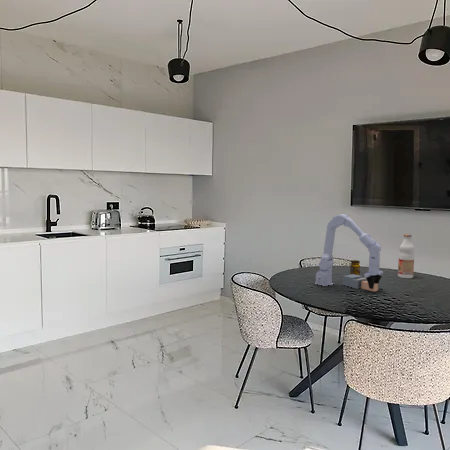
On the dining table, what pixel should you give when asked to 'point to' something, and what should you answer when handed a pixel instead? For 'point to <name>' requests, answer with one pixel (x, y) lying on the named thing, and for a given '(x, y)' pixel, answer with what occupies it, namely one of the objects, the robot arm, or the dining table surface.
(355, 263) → the condiment
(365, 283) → the peach rectangular block
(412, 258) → the fruit juice
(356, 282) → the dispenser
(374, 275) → the robot arm
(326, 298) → the dining table surface
